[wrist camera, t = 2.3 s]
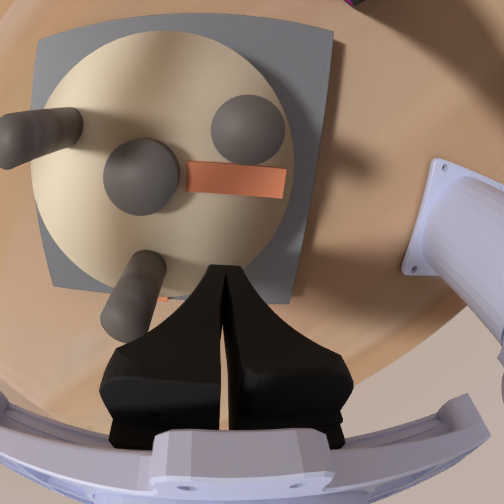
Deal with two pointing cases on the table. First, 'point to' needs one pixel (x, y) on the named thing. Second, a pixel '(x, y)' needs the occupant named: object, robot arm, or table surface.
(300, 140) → the stand
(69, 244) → the capstan wheel
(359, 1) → the candy bar box
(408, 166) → the table surface
